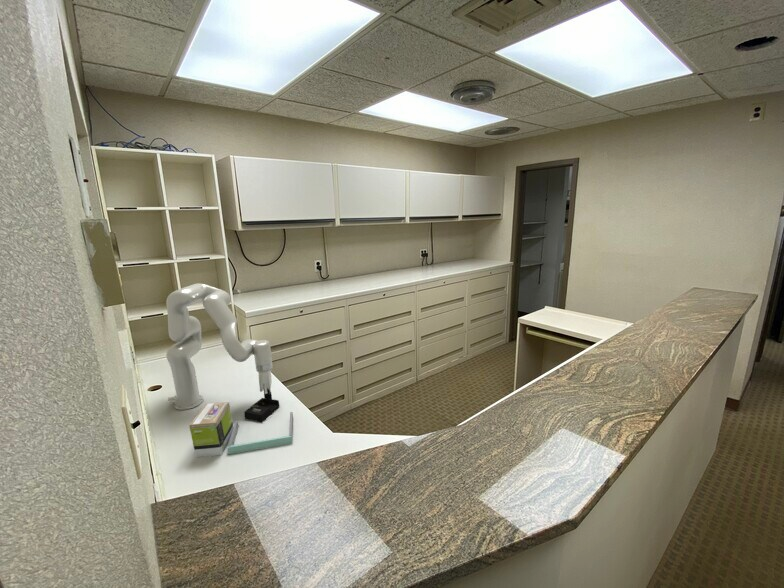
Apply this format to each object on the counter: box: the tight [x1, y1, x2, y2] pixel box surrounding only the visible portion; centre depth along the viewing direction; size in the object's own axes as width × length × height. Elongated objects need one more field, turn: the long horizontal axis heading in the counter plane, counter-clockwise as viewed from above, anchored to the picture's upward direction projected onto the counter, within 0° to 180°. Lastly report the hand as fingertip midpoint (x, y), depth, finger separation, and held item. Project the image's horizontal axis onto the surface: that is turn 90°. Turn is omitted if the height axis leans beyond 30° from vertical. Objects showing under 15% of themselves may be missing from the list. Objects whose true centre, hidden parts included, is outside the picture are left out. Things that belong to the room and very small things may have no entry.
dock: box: [226, 411, 294, 455], centre depth 148 cm, size 24×18×3 cm
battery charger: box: [243, 397, 280, 423], centre depth 164 cm, size 13×10×4 cm
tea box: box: [189, 401, 234, 458], centre depth 141 cm, size 15×10×15 cm
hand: (268, 400), depth 173 cm, fingers closed
